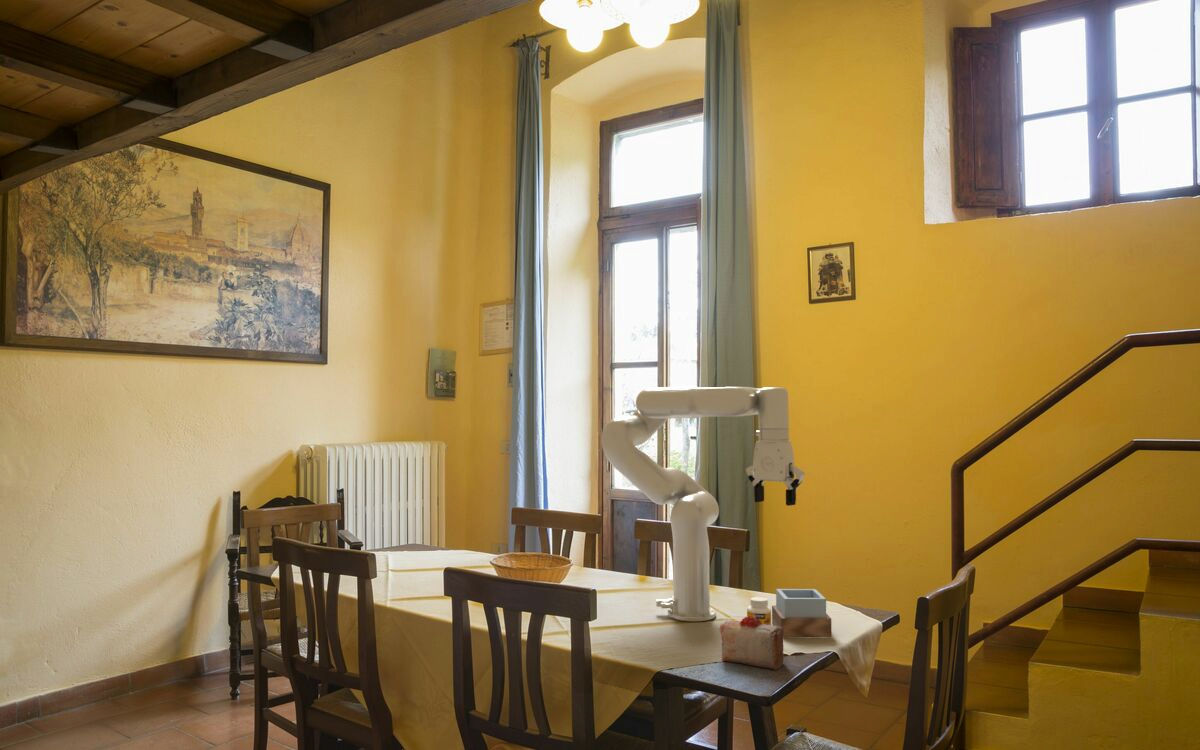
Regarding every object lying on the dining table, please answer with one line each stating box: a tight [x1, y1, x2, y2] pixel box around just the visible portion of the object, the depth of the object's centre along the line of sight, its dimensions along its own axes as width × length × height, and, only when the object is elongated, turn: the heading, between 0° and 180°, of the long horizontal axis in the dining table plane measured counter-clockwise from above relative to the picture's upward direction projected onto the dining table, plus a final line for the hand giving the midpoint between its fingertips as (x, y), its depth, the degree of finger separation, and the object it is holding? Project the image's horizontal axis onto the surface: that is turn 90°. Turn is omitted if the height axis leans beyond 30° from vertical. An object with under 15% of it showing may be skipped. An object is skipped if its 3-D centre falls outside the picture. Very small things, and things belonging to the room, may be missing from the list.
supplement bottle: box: [746, 596, 772, 626], centre depth 192 cm, size 6×6×10 cm
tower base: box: [771, 605, 833, 637], centre depth 202 cm, size 12×12×5 cm
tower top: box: [775, 588, 827, 618], centre depth 202 cm, size 10×10×4 cm
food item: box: [719, 615, 785, 670], centre depth 178 cm, size 14×8×10 cm, turn 59°
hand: (774, 503), depth 206 cm, fingers open, 9 cm apart
